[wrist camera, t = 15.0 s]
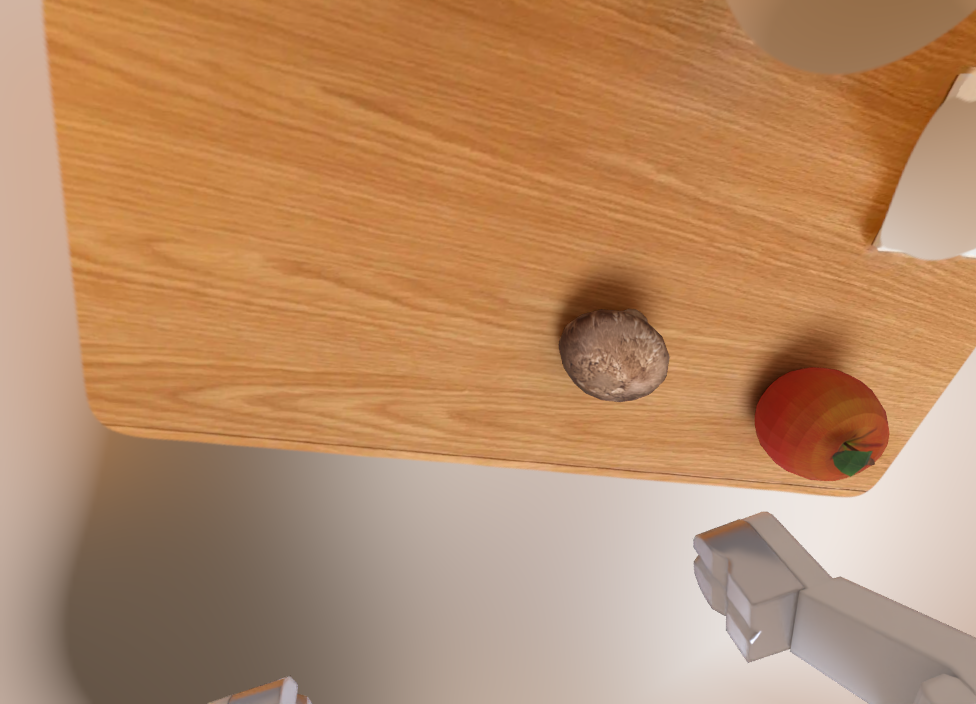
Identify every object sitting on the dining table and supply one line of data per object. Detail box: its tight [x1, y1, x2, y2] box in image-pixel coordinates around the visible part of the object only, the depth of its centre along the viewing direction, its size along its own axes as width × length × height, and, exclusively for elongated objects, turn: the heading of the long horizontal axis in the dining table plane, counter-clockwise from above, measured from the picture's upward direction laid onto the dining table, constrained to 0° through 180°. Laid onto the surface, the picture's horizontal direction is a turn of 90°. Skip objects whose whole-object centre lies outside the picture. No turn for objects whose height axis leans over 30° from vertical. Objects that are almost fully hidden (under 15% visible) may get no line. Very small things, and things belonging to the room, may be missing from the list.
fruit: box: [755, 367, 889, 481], centre depth 44 cm, size 10×10×10 cm
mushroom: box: [559, 309, 669, 402], centre depth 38 cm, size 8×8×6 cm
